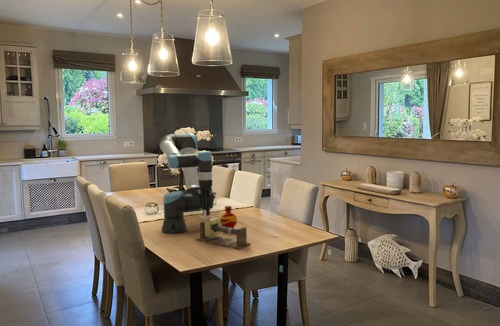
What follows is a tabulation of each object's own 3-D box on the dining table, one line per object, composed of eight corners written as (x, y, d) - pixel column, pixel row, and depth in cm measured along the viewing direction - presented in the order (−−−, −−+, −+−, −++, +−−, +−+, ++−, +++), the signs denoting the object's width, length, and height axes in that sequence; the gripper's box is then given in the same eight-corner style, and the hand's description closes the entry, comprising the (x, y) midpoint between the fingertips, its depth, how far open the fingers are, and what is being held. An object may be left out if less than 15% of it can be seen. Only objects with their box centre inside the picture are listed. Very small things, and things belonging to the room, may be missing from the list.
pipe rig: (196, 240, 226) (196, 222, 225) (208, 235, 234) (208, 218, 233) (239, 250, 208) (238, 231, 207) (250, 244, 216) (250, 226, 215)
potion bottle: (222, 234, 236) (221, 209, 235) (218, 229, 246) (218, 205, 245) (239, 232, 239) (239, 207, 237) (235, 228, 249) (235, 204, 247)
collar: (204, 236, 222) (204, 220, 221) (215, 232, 230) (215, 217, 229) (210, 237, 220) (210, 221, 219) (221, 233, 227) (220, 218, 226)
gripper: (192, 179, 225) (193, 220, 227) (209, 180, 217) (210, 223, 219) (201, 177, 231) (202, 217, 233) (218, 179, 223) (219, 220, 225)
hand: (206, 220), depth 226 cm, fingers closed
